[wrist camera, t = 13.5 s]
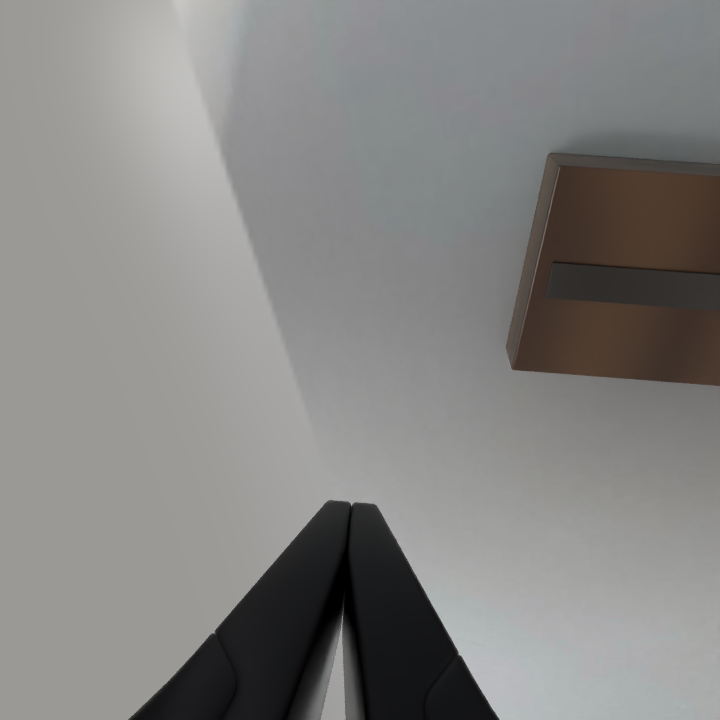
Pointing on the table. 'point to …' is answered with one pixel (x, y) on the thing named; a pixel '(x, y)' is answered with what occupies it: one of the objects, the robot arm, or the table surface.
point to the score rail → (622, 272)
